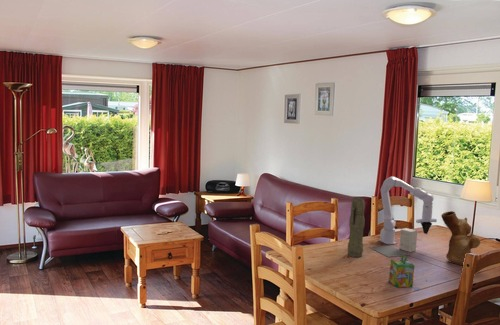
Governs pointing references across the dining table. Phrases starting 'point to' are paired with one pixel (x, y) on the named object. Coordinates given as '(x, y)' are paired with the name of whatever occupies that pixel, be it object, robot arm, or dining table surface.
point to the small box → (408, 239)
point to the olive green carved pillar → (356, 228)
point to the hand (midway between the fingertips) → (425, 233)
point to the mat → (389, 251)
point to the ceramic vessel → (459, 238)
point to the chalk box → (401, 272)
